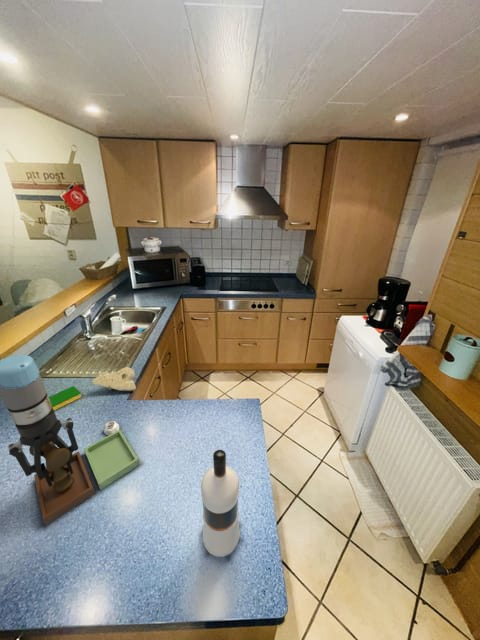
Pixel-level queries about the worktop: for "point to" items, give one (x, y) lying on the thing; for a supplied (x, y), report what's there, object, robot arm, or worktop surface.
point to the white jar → (111, 427)
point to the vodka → (220, 507)
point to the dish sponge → (64, 397)
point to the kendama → (56, 465)
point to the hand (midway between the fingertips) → (60, 476)
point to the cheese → (117, 380)
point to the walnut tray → (64, 492)
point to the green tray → (111, 458)
